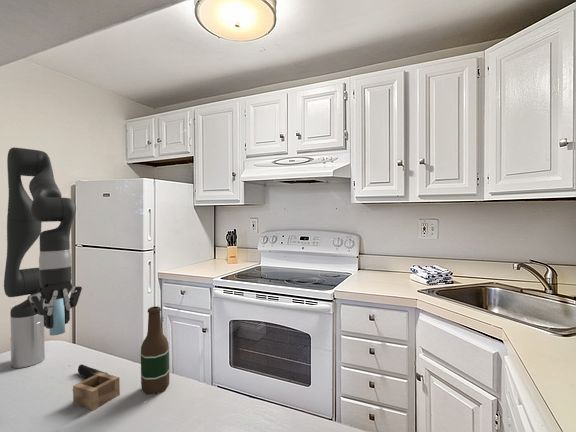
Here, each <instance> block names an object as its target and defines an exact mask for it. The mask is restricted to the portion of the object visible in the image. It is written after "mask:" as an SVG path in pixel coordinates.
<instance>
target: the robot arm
mask: <svg viewBox="0 0 576 432" xmlns="http://www.w3.org/2000/svg"><path fill="white" fill-rule="evenodd" d="M6 159H7V160H6V161H7V165H6V166H7V184H8V201H7V216H6V260H5V267H4V268H5V270H4V276H3V277H4V279H3V290H4V294H5V295H6V296H7V297H8V298H17V297H23V296H27V299H25V300H23V301H22V302H20V303H18V304H17V305H14V306H13V307H11V308H10V365H11V367H12V368H15V369H18V368H19V369H20V368H21V369H22V368H27V367H32V366H34V365H37V364H39V363H41V362H43V361H44V360H45V358H46V356H45V355H46V354H45V353H46V352H45V351H46V350H45V349H46V348H45V328H46V329H49V330H50V329H51V328H53V315H51V314H52V311H53V307H54V306H55V302H56V299H60V298H64V310H65V325H67V324H69V322H70V320H71V313H70V312H71V310H72V309H73V308H75V307H76V306H77V305H78V302H79V299H80V296H81V293H82V290H83V287H82V286H78V285H77V286H75V285H73V284H72V280H73V278H72V275H73V274H72V256H71V250H70V249H71V244H70V242H71V241H70V238H71V237H70V236H71V229H72V226H73V221H74V219H75V216H76V212H77V206H76V203H75V201H74V200H73V199H72V198H70V197H63V196H62V193H61V190H60V189H59V187H58V185H57V182H56V181H55V177H54V171H53V170H54V169H53V166H52V162H51V159H50V156H49V154H48V153H47V152H45V151H42V150H38V149H31V148H23V147H14V146H13V147H11V148H10V149H8V152H7V158H6ZM21 177H32V179H31V180H30V181H29V184H28V189H29V193H30V195H31V197H32V198H31V197H30V195H29V194H28V192H27V191H26V190H25V187H24V185H23V181H22V178H21ZM47 222H48V223H49V222H50V223H51V222H52V223H53V222H55V223H56V222H60V223H59V225H58V226H57V227H56V228H53V229H52V228H51V229H47V230H43V231H42V224H43V223H47ZM38 239H39V257H38V267H32V268H31V267H30V268H22V269H20V267H21V264H22V261H23V259H24V257H25V255H26V254H27V252H28V251H29V249H31V248H32V247H33V245H34V244H35V243H36V241H37V240H38ZM49 302H50V303H49Z"/></svg>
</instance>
